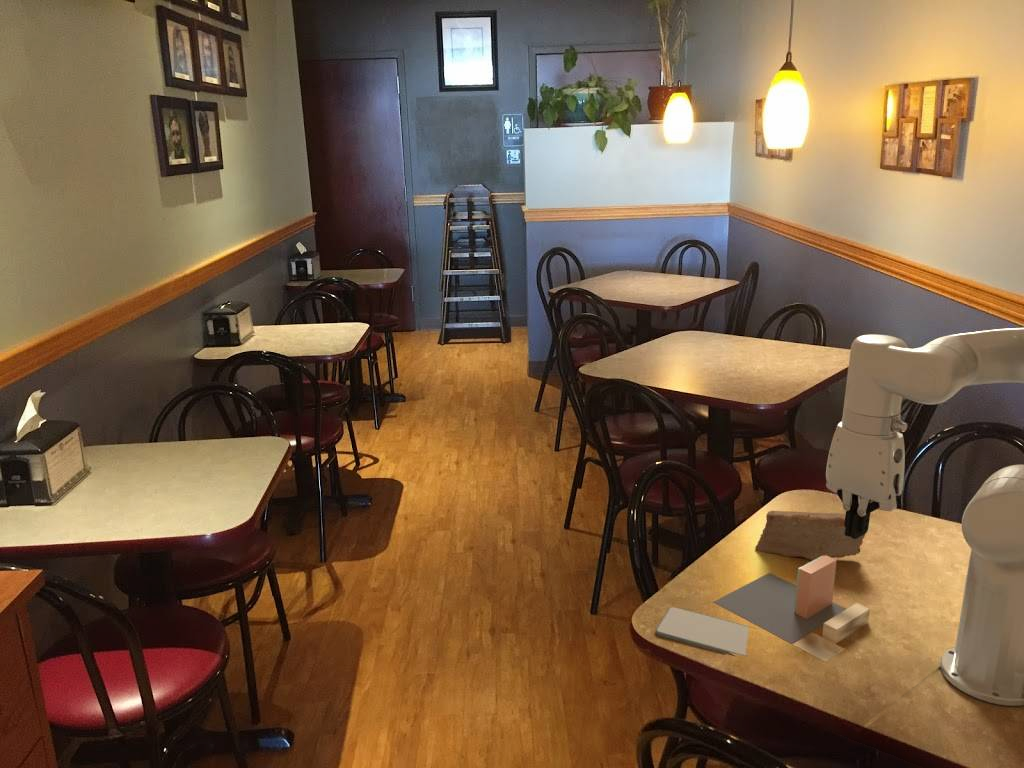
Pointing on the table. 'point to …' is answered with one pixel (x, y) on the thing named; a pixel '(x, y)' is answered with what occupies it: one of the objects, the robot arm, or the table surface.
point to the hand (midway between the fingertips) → (855, 534)
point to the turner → (835, 632)
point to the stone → (807, 535)
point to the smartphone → (704, 631)
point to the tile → (815, 586)
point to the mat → (775, 608)
